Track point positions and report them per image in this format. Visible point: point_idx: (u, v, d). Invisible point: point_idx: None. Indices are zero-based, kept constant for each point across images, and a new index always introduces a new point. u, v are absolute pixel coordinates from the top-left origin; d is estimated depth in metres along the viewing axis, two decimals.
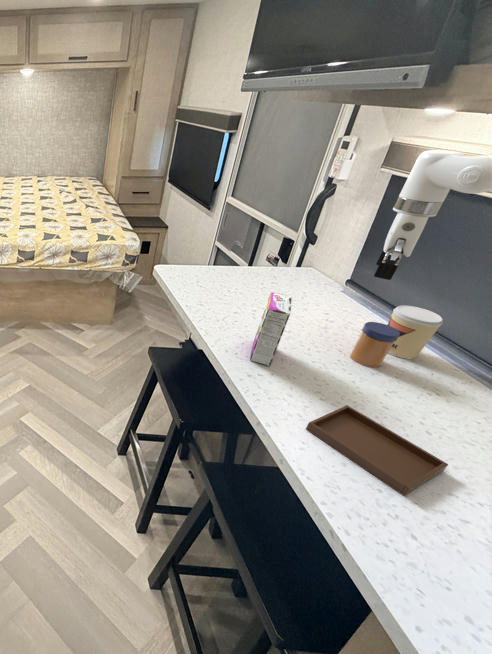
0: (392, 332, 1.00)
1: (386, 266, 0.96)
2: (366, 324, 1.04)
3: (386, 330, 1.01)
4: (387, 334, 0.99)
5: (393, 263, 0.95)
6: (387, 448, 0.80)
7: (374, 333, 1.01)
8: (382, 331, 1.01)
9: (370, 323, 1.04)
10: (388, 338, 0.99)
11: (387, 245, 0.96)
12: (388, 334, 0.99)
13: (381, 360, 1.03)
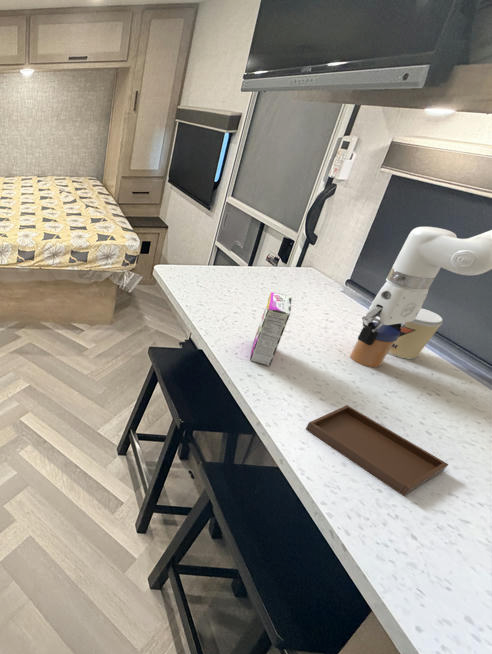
0: (392, 332, 1.00)
1: (365, 331, 1.01)
2: None
3: (386, 330, 1.01)
4: (387, 334, 0.99)
5: (369, 329, 1.00)
6: (387, 448, 0.80)
7: None
8: (382, 331, 1.01)
9: None
10: (388, 338, 0.99)
11: (369, 309, 1.00)
12: (388, 334, 0.99)
13: (381, 360, 1.03)
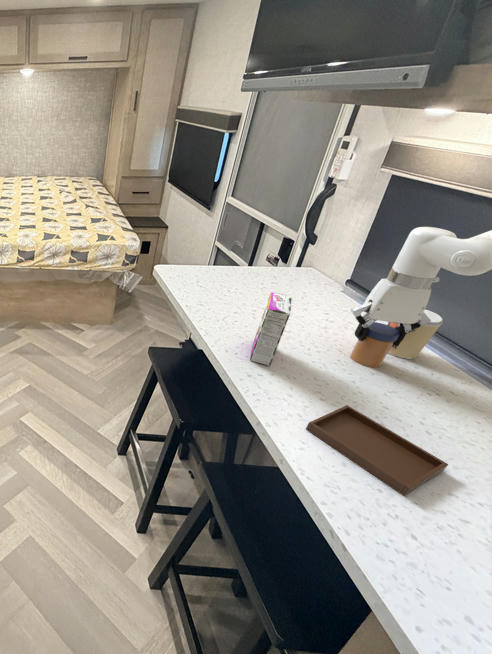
0: (375, 324, 1.04)
1: None
2: (396, 334, 0.99)
3: (379, 326, 1.03)
4: (384, 325, 1.03)
5: None
6: (387, 448, 0.80)
7: None
8: (386, 327, 1.02)
9: (389, 334, 0.99)
10: None
11: (419, 317, 0.96)
12: (383, 324, 1.03)
13: (381, 360, 1.03)
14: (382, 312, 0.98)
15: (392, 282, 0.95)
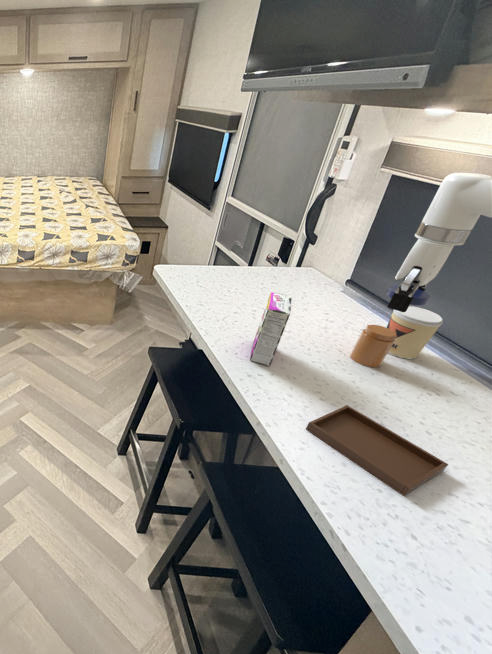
0: None
1: None
2: (427, 293, 0.91)
3: None
4: (398, 286, 0.94)
5: None
6: (387, 448, 0.80)
7: None
8: None
9: (425, 295, 0.90)
10: None
11: None
12: (398, 286, 0.94)
13: (381, 360, 1.03)
14: (431, 275, 0.86)
15: (442, 241, 0.83)
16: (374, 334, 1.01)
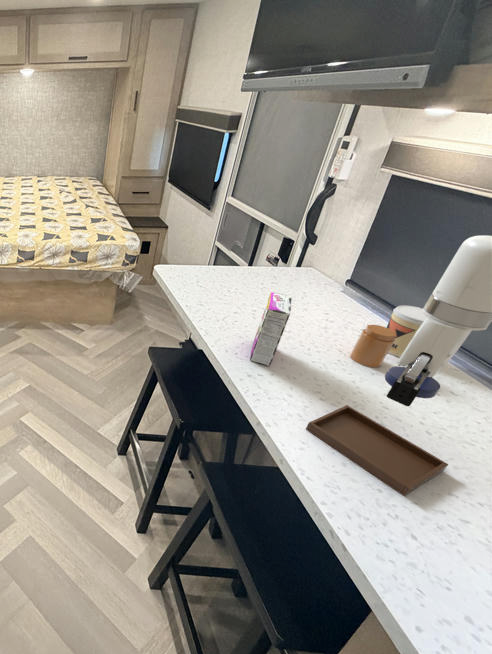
0: (398, 373, 0.73)
1: None
2: (436, 382, 0.71)
3: None
4: (400, 368, 0.74)
5: None
6: (387, 448, 0.80)
7: None
8: None
9: (434, 385, 0.70)
10: None
11: None
12: (399, 368, 0.74)
13: (381, 360, 1.03)
14: (443, 365, 0.66)
15: (459, 324, 0.63)
16: (374, 334, 1.01)
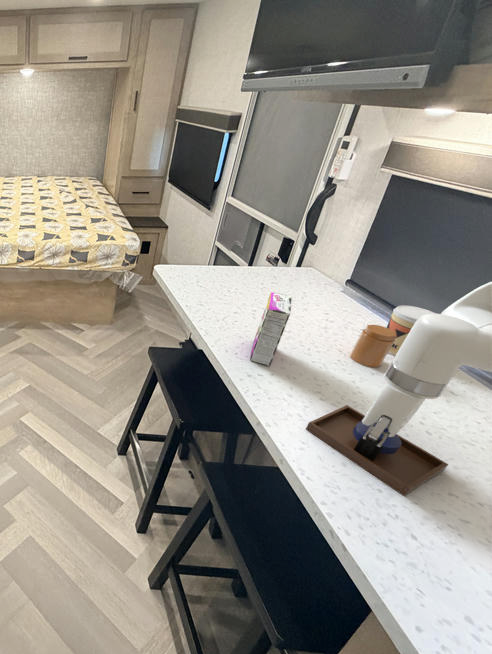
0: (364, 429, 0.80)
1: None
2: (398, 438, 0.78)
3: None
4: None
5: None
6: None
7: None
8: None
9: (396, 442, 0.77)
10: None
11: None
12: None
13: (381, 360, 1.03)
14: (402, 427, 0.73)
15: (414, 393, 0.70)
16: (374, 334, 1.01)
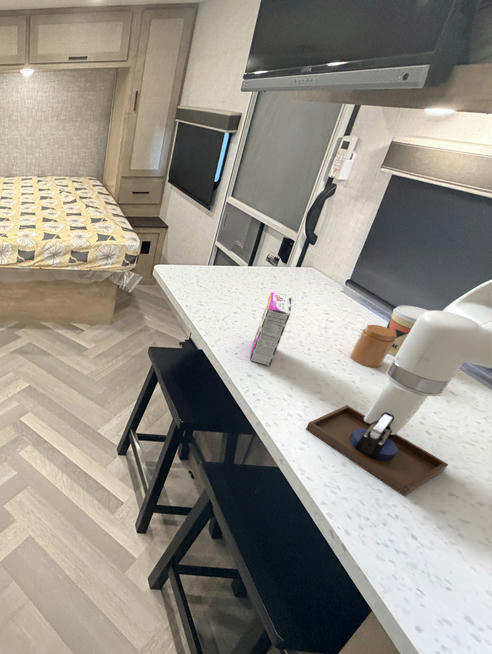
0: (361, 436, 0.81)
1: None
2: (394, 445, 0.79)
3: None
4: (363, 430, 0.82)
5: None
6: None
7: None
8: None
9: (392, 449, 0.78)
10: None
11: None
12: (362, 430, 0.82)
13: (381, 360, 1.03)
14: (404, 424, 0.73)
15: (416, 390, 0.70)
16: (374, 334, 1.01)
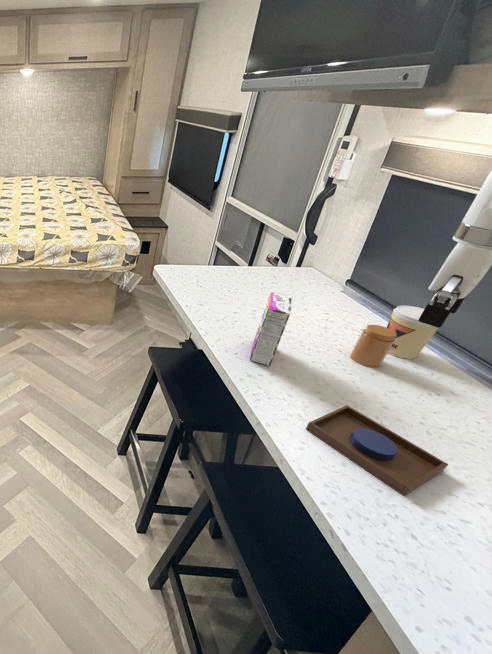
0: (361, 436, 0.81)
1: None
2: (394, 445, 0.79)
3: (369, 438, 0.80)
4: (363, 430, 0.82)
5: None
6: None
7: None
8: (371, 434, 0.81)
9: (392, 449, 0.78)
10: None
11: None
12: (362, 430, 0.82)
13: (381, 360, 1.03)
14: (473, 286, 0.72)
15: (488, 246, 0.69)
16: (374, 334, 1.01)
